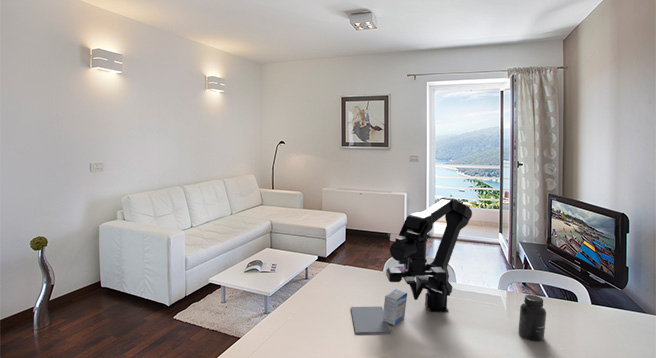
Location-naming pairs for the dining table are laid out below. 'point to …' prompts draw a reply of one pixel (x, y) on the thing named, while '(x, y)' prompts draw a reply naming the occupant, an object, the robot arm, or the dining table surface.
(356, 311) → the mat
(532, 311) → the supplement bottle
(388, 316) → the medicine box
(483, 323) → the dining table surface
